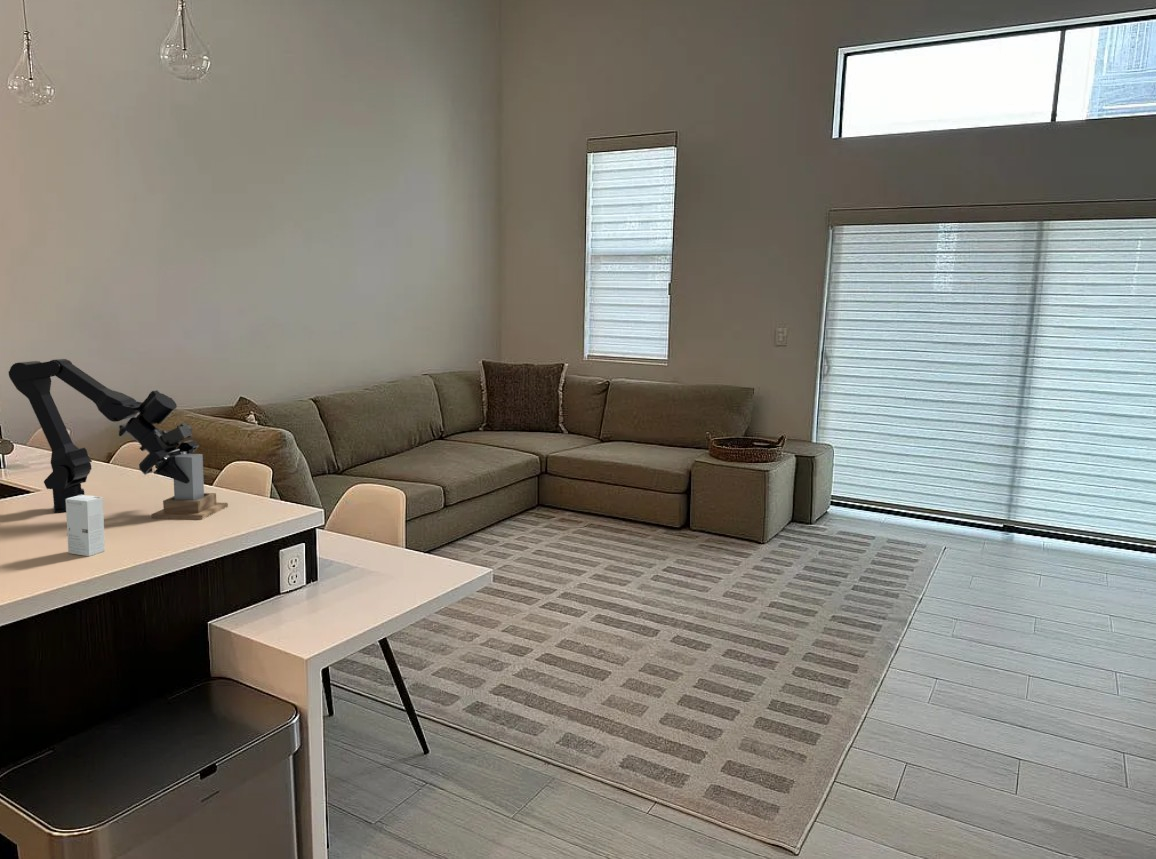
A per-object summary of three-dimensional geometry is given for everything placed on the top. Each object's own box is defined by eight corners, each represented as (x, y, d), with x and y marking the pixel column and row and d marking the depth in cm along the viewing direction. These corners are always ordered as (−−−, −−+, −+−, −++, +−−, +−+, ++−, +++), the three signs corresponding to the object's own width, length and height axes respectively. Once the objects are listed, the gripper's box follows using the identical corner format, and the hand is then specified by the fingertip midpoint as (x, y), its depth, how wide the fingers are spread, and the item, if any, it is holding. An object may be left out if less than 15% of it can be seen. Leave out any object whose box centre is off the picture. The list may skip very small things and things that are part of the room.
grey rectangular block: (193, 508, 204) (191, 457, 203) (174, 507, 205) (172, 456, 203) (204, 503, 209) (202, 454, 208) (185, 503, 210) (183, 453, 208)
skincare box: (67, 554, 173) (62, 498, 171) (85, 548, 177) (81, 494, 175) (89, 556, 171) (84, 501, 169) (107, 550, 175) (103, 496, 173)
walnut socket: (202, 519, 201) (201, 503, 200) (151, 518, 202) (150, 502, 201) (228, 506, 214) (227, 491, 213) (180, 505, 214) (179, 490, 214)
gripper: (147, 419, 195) (194, 465, 196) (189, 409, 213) (232, 452, 214) (118, 451, 196) (165, 496, 197) (162, 438, 215) (205, 480, 216)
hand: (193, 479), depth 206 cm, fingers closed on grey rectangular block, 5 cm apart
